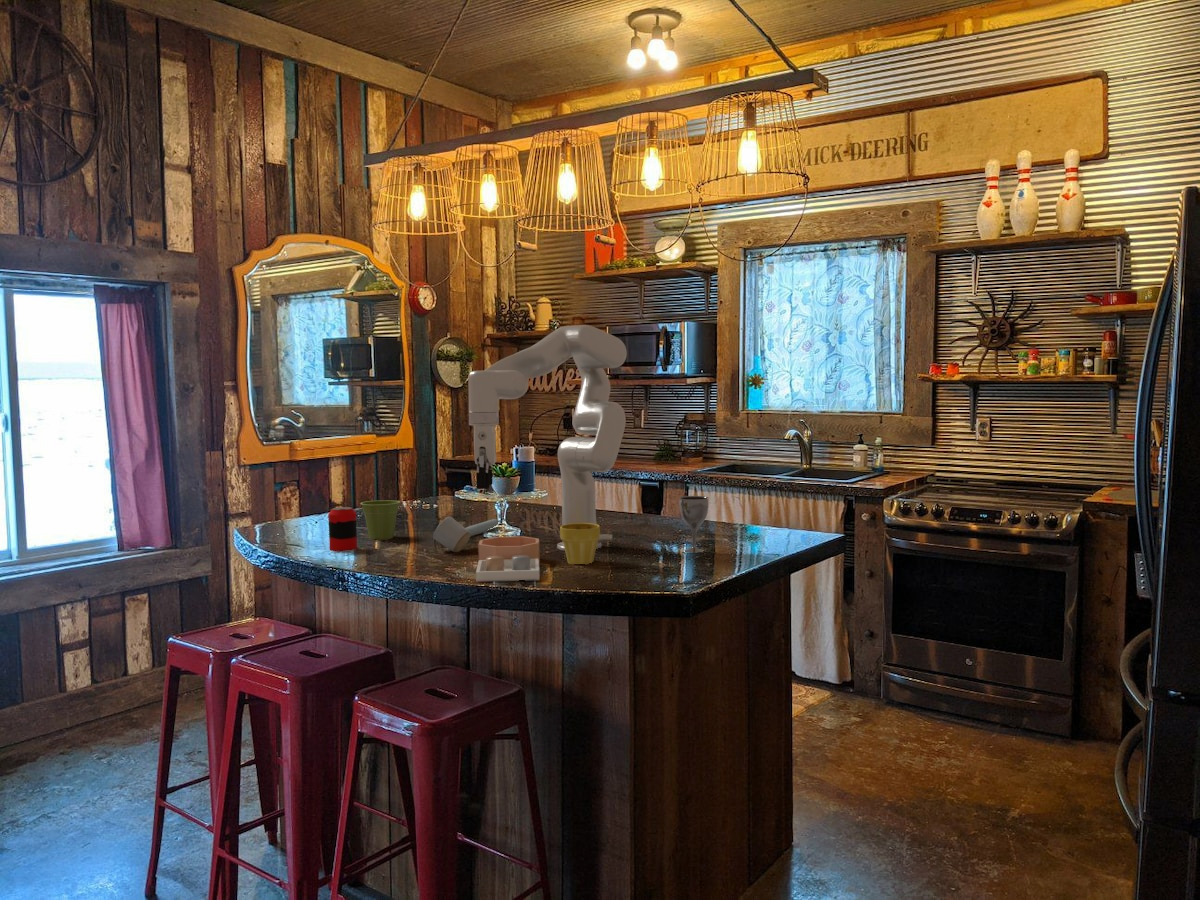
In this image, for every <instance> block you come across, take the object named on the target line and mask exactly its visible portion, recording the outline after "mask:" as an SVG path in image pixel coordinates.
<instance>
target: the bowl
mask: <svg viewBox="0 0 1200 900" xmlns="http://www.w3.org/2000/svg"><path fill="white" fill-rule="evenodd" d="M477 545H478V546H477V547H478V561H479V560H486V557H489V556H503V557H504V559H512V557H513V556H516V555H528V556H530V559H538V560H539V564H540V562H541V560H540V558H541V557H540V539H539V538H536V537H531V536H530V537H529V536H524V535H519V536H517V535H515V536H513V535H512V536H496V537H490V538H485V539H480V540H479V541H478V544H477Z"/></svg>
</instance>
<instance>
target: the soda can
mask: <svg viewBox="0 0 1200 900" xmlns="http://www.w3.org/2000/svg"><path fill="white" fill-rule="evenodd" d="M356 512H357V511H355V510H354V509H353V507H349V506H341V507H334V508H331V510H330V511H329V512H328V537H329V538H328V539H329V541H328V542H329V543H328V544H329V551H331V552H350V551H355V550H357V549H358V537H357V536H358V534H357V533H358V532H357V513H356Z"/></svg>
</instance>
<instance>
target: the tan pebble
mask: <svg viewBox="0 0 1200 900" xmlns="http://www.w3.org/2000/svg"><path fill="white" fill-rule="evenodd" d="M486 571H504V557H503V556H489V557H486Z"/></svg>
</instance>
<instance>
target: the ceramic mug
mask: <svg viewBox="0 0 1200 900" xmlns="http://www.w3.org/2000/svg"><path fill="white" fill-rule="evenodd" d="M465 528H466V527H464V526H463V525H461V524H460V523H459V522H458V521H457V520H455V519H454V518H453V516H446V517H445V518H444V519H443V520H442V521H441V522H440V523H439V524H438V525H437V527H436V528H435V530H434V532H433V534H432V538H433V540H435V541H437V542H438V543H439V544H441V545H442V546H444V547H445V548H446V549H448V550H449V551H451V552H453V553H459V552H461V551H462V550H463V549H464V548H465V546H466V545H467V544H468V543H469V541H470V539H471V537H470V533H469V532H468V531H467V530H466V529H465Z"/></svg>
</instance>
